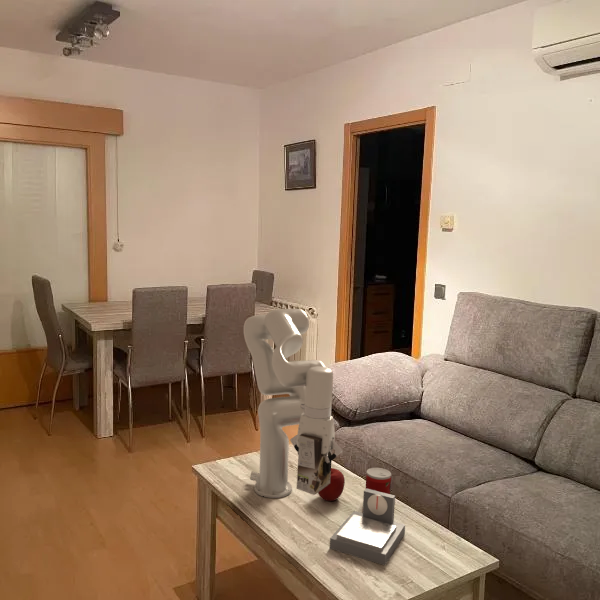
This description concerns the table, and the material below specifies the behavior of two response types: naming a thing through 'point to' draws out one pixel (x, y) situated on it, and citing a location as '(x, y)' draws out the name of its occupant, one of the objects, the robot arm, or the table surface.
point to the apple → (333, 486)
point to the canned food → (378, 480)
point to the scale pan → (367, 532)
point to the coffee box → (311, 465)
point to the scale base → (380, 510)
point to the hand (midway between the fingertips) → (314, 470)
